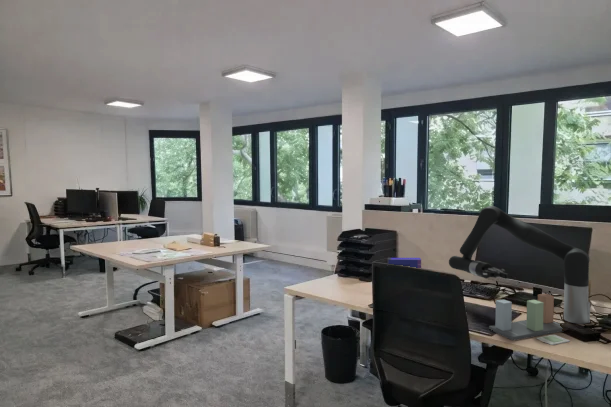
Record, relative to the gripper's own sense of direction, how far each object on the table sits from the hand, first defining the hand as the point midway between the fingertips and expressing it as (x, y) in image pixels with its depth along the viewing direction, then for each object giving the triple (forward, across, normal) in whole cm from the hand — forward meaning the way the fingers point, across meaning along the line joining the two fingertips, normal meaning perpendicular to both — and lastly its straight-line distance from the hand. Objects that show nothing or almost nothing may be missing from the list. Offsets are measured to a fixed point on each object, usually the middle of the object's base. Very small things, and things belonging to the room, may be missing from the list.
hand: (507, 276), depth 185 cm
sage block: (+15, 0, +20) cm, 25 cm away
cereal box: (-44, -29, +21) cm, 56 cm away
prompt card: (+24, 0, +22) cm, 32 cm away
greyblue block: (+10, -12, +20) cm, 25 cm away
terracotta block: (+10, +12, +20) cm, 25 cm away
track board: (+12, 0, +21) cm, 24 cm away
